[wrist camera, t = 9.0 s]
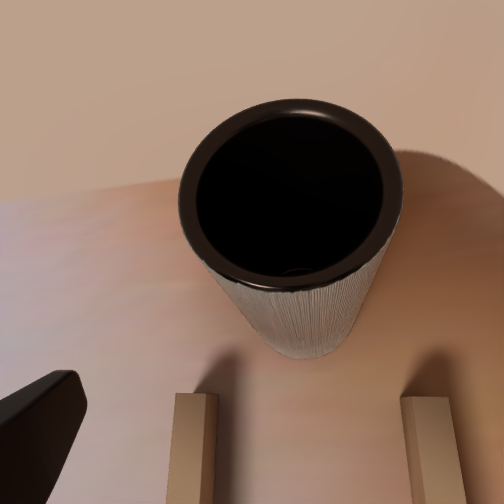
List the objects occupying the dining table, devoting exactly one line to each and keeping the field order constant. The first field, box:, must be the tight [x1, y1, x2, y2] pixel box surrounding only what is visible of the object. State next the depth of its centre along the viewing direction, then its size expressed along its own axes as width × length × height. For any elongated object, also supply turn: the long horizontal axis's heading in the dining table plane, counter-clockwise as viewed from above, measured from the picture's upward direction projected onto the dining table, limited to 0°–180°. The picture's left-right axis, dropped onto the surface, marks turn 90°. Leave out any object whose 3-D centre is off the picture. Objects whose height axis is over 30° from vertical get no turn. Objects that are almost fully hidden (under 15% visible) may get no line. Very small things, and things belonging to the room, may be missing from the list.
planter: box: [178, 99, 404, 359], centre depth 12 cm, size 4×4×10 cm
